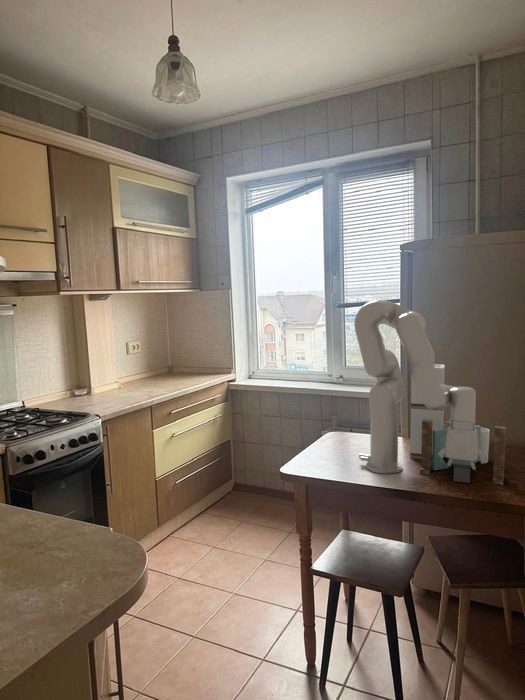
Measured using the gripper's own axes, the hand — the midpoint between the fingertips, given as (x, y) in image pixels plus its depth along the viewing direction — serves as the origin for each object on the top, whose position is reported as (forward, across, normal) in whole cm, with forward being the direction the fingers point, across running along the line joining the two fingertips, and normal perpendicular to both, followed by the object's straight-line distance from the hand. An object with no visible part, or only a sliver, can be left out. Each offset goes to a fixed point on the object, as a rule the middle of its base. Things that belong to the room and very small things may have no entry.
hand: (461, 477), depth 165 cm
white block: (+1, -15, +24) cm, 28 cm away
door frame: (+1, -1, +6) cm, 6 cm away
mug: (+1, +4, +27) cm, 27 cm away
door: (+1, -3, +13) cm, 13 cm away
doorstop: (+1, -1, +5) cm, 5 cm away
